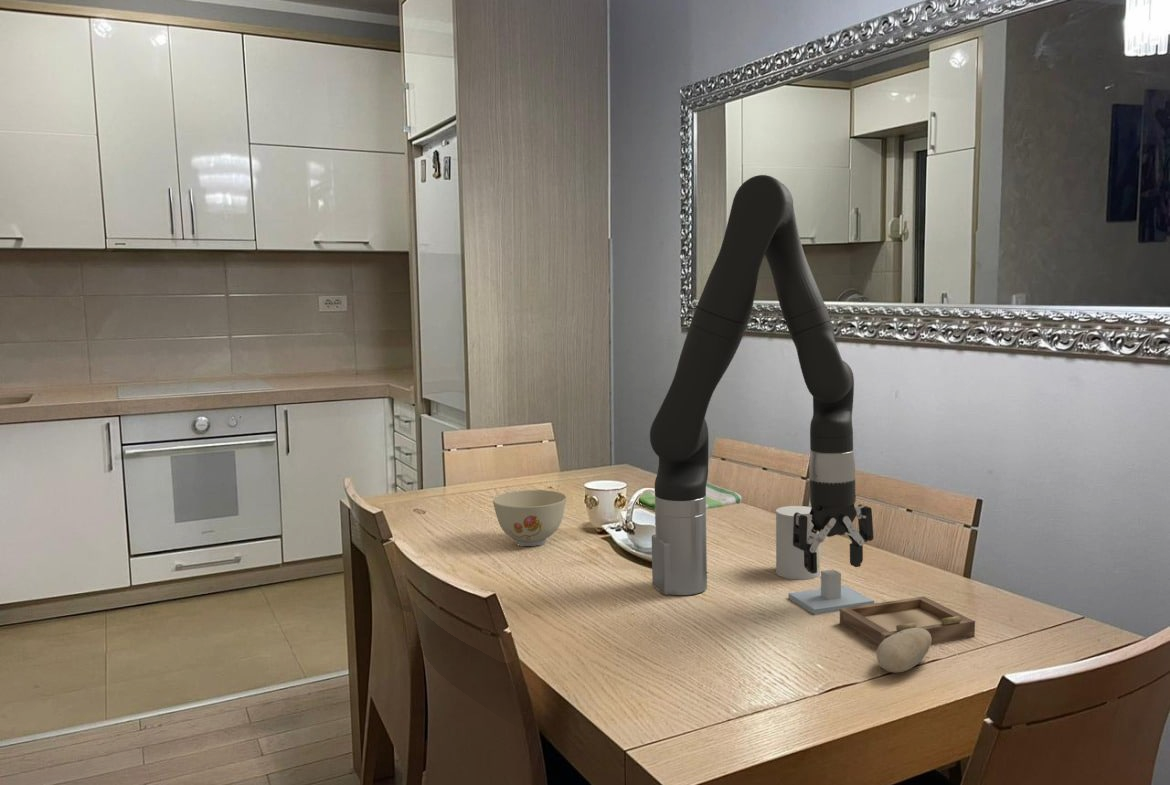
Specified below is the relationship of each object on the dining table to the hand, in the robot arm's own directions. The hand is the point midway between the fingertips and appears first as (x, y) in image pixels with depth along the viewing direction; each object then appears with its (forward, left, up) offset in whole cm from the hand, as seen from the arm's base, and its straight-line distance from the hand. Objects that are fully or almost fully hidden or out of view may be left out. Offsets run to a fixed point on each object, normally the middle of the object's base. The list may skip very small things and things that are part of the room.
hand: (833, 569), depth 152 cm
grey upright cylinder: (+3, +16, -6) cm, 18 cm away
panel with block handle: (0, 0, -6) cm, 6 cm away
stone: (-5, -26, -6) cm, 27 cm away
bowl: (-40, +55, -6) cm, 69 cm away
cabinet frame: (+4, -15, -6) cm, 16 cm away
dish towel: (+6, +76, -7) cm, 77 cm away
